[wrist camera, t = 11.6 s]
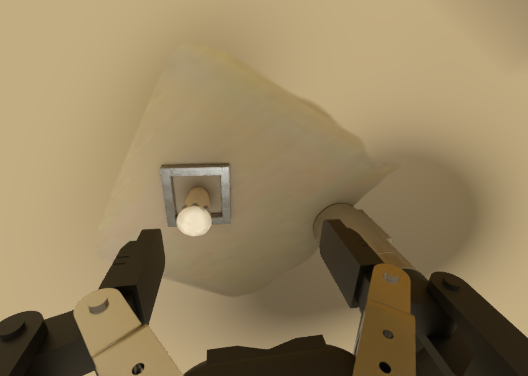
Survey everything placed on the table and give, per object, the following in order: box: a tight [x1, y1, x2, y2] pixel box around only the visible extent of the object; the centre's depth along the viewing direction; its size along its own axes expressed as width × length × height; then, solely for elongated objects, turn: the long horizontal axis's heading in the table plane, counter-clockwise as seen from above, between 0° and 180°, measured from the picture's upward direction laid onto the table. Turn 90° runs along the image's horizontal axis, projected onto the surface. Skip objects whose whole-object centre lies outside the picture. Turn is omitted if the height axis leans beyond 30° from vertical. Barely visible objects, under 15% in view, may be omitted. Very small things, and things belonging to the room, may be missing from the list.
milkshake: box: [177, 187, 212, 236], centre depth 37 cm, size 4×5×10 cm
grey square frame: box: [160, 164, 230, 227], centre depth 41 cm, size 10×10×2 cm
